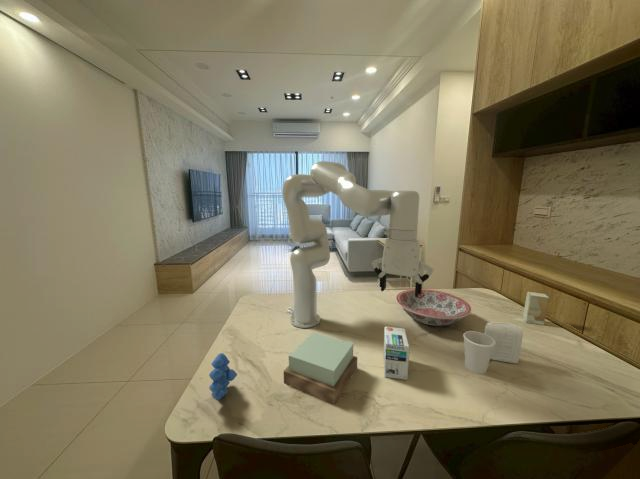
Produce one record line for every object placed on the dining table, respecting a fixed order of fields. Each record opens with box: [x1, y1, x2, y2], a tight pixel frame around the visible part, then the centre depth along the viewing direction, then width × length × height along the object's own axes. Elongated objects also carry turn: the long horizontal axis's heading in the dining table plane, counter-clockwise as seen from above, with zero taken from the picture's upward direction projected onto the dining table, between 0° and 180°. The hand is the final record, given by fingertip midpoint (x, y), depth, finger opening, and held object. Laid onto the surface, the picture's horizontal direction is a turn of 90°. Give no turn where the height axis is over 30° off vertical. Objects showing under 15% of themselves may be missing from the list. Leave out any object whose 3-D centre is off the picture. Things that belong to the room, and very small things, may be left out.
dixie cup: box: [462, 330, 495, 374], centre depth 80 cm, size 8×8×10 cm
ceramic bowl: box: [395, 288, 472, 327], centre depth 111 cm, size 29×29×8 cm
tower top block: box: [288, 332, 354, 387], centre depth 77 cm, size 14×14×4 cm
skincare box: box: [522, 291, 550, 326], centre depth 108 cm, size 6×4×12 cm
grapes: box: [208, 352, 238, 401], centre depth 69 cm, size 12×7×12 cm, turn 8°
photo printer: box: [483, 321, 524, 364], centre depth 84 cm, size 10×4×12 cm, turn 72°
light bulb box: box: [383, 326, 410, 381], centre depth 80 cm, size 11×7×11 cm, turn 168°
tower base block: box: [283, 355, 358, 405], centre depth 77 cm, size 16×16×4 cm
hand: (399, 292), depth 77 cm, fingers open, 9 cm apart
